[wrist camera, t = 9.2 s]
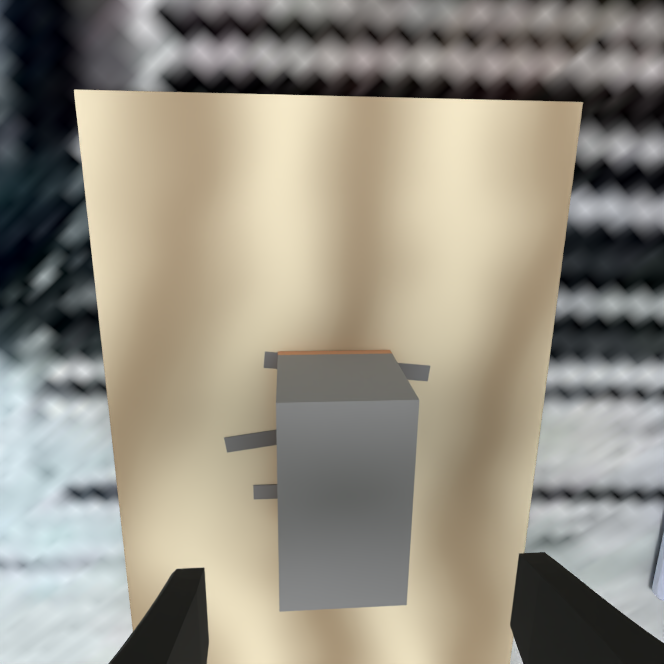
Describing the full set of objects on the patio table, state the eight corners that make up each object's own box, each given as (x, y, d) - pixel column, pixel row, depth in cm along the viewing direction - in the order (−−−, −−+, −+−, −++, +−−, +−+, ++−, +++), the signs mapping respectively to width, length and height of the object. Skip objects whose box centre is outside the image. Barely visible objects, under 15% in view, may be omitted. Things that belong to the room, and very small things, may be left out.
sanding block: (390, 350, 20) (419, 399, 15) (382, 518, 22) (406, 605, 17) (278, 351, 19) (275, 403, 15) (280, 523, 21) (279, 611, 17)
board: (560, 107, 19) (583, 102, 18) (491, 684, 27) (503, 715, 25) (90, 96, 18) (73, 89, 17) (152, 706, 25) (144, 740, 24)
